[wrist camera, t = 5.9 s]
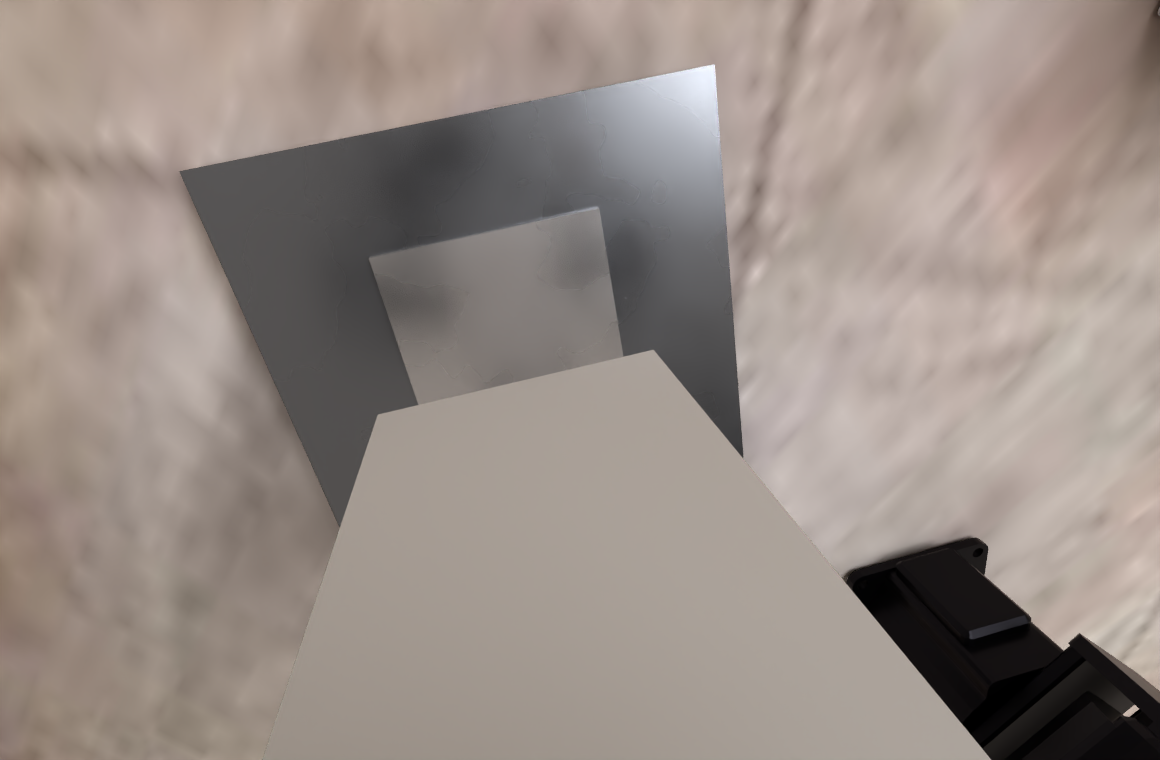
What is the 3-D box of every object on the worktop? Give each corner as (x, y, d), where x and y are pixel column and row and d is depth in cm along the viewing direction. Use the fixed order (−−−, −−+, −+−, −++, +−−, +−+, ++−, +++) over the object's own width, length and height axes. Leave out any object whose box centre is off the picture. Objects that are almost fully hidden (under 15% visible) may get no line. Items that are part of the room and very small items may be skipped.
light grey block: (655, 347, 10) (1033, 795, 3) (700, 680, 13) (928, 1230, 6) (375, 413, 9) (145, 1074, 3) (495, 738, 13) (520, 1383, 6)
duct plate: (735, 511, 23) (750, 533, 22) (389, 603, 22) (384, 632, 21) (698, 68, 17) (717, 63, 15) (199, 168, 16) (175, 172, 14)
